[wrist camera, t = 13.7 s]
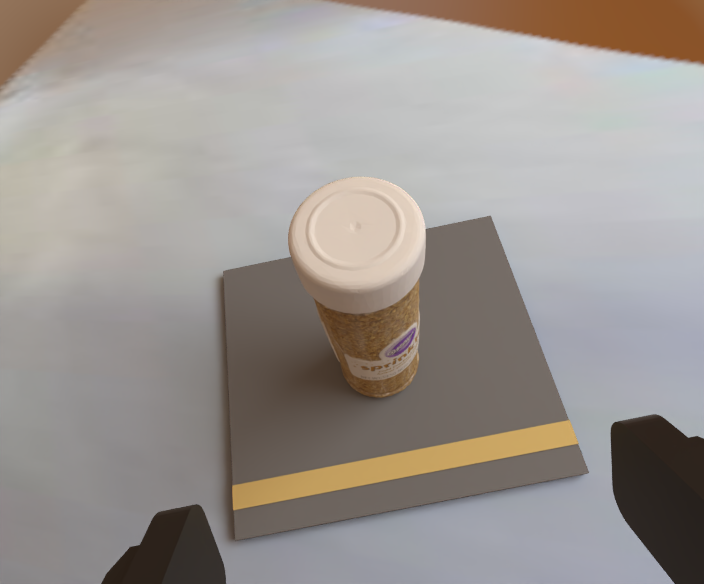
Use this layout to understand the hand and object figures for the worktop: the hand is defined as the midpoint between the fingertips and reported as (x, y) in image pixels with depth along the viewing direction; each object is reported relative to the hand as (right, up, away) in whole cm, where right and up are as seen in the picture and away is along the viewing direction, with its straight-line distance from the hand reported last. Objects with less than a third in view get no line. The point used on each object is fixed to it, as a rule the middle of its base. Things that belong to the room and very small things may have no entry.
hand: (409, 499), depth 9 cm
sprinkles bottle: (0, 0, +18) cm, 18 cm away
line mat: (+1, 0, +18) cm, 18 cm away
